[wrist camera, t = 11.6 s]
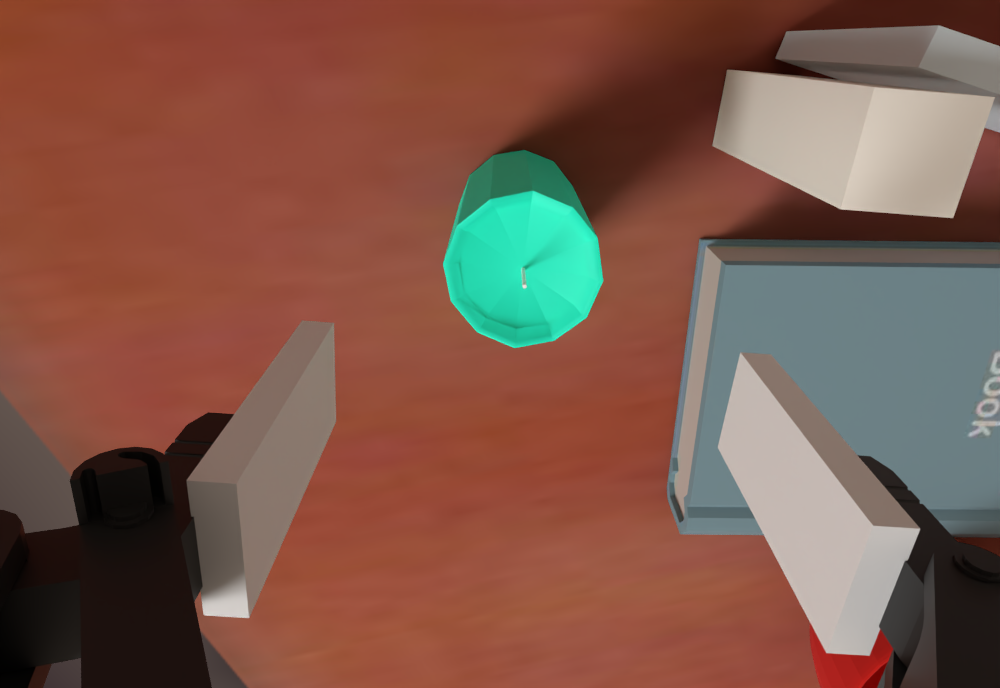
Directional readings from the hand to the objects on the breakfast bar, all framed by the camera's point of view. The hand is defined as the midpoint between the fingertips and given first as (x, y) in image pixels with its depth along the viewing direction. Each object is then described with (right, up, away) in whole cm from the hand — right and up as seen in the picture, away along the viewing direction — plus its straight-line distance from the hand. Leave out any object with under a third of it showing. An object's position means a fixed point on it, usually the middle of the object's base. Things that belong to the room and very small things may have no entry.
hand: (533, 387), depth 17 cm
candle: (0, +8, +18) cm, 20 cm away
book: (+21, -1, +22) cm, 31 cm away
